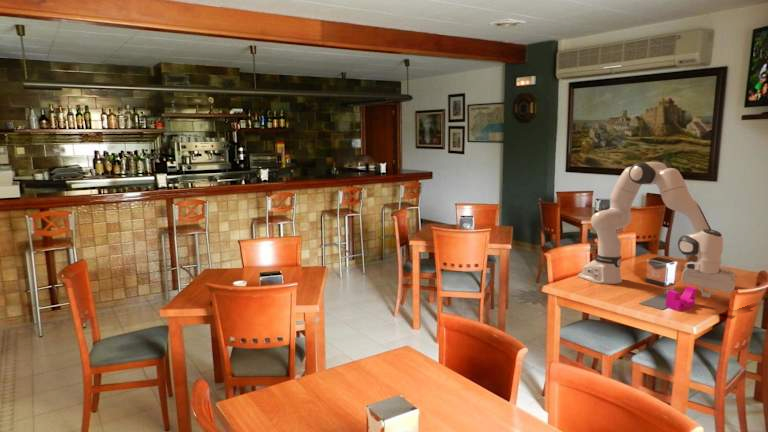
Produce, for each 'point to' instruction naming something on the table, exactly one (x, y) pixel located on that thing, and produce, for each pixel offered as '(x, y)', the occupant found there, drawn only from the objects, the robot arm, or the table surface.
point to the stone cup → (689, 260)
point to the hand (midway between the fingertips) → (705, 296)
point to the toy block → (681, 299)
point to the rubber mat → (656, 302)
